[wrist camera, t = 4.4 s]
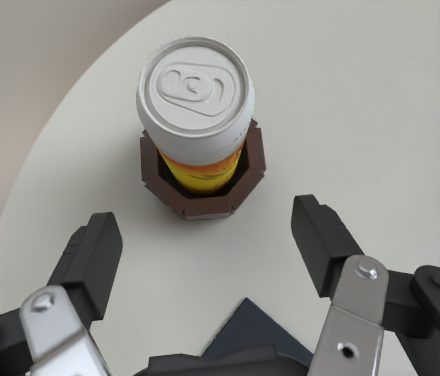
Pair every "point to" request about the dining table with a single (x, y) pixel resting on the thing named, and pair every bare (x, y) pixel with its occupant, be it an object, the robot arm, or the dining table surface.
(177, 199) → the segmented ring
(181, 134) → the beer can
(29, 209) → the dining table surface
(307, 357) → the mat
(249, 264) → the dining table surface
